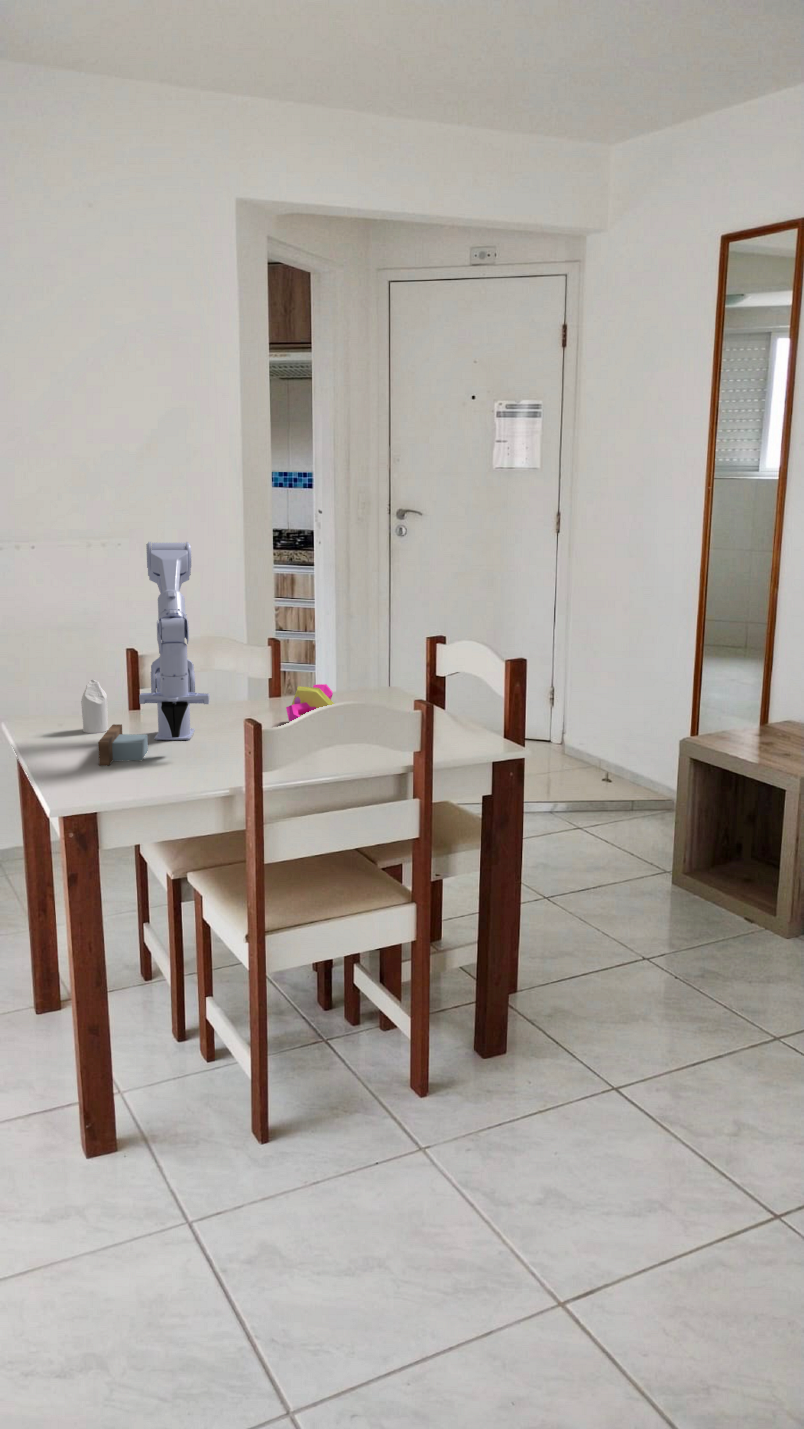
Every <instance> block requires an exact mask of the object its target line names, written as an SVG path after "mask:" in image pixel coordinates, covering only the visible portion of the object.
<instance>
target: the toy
mask: <svg viewBox="0 0 804 1429" xmlns="http://www.w3.org/2000/svg"><path fill="white" fill-rule="evenodd" d="M332 697H333V690H332V689H331V688H330V686H329V685H328V684H327V683H322V684H320V683H319V684H318V683H317V684H313V686H312V687H311V686H299V685H298V686H297V688H296V691H295V694H294V697H293V700H292V703H291V705H288V706H286V707H285V709H286V713H287V718H288V721H289V722H290V721H292V720H294V719H296V718H298V717H300V716H301V715H303V714H305V713H306V712H309V711H311V710H314V709H316V708H319V707H323V706H327V705H332V704H335V703H334V701H333V700H332Z"/></svg>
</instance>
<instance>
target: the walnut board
mask: <svg viewBox="0 0 804 1429" xmlns="http://www.w3.org/2000/svg"><path fill="white" fill-rule="evenodd" d="M119 734H123V724H115V723H113V724H112V725H111V726H110V727H108V730H107V731H105V732H104V734H103V736H102V737H101V738H100V739H99V740H98V741H97V743H98V745H97V746H98V748H97V749H98V765H99V766H104V767H105V766H106V765H107V766H108V765H109V766H110V765H111V763H112V762H113V752H112V743H113V742H114V740H115V739H116V738H117V737H118V735H119ZM109 766H108V767H109Z"/></svg>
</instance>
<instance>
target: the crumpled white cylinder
mask: <svg viewBox="0 0 804 1429" xmlns="http://www.w3.org/2000/svg"><path fill="white" fill-rule="evenodd" d="M80 704H81V714H82V715H81V716H82V731H83V733H85V734H99V733H106V732H107V731H108V730H109V715H108V695H107V693H106V691H105V690H104V689H103V688H102V686H101V684H100V682H99V681H98V680H95V679H91V680H90V681H89V682H88V683H87V685H86V686H85V689H84V692H83V694H82V696H81V701H80Z"/></svg>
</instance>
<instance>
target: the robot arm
mask: <svg viewBox="0 0 804 1429" xmlns="http://www.w3.org/2000/svg"><path fill="white" fill-rule="evenodd" d="M191 546H192V545H191V543H189V541H185V542H152V541H148V542H147V544H146V546H145V547H146V568H147V576H148V578H149V581H150V582H152V583H154V584H157V587H158V591H159V592H160V594H159V595H158V597H157V611H158V613H157V614H158V615H157V617H158V618H157V619H158V620H156V640H157V644H158V654H160V655H159V657H157V659H155V660H153V661H152V663H151V665H150V688H151V690H150V692H143V693H142V692H141V693H140V694H139V695H138V696H139V697H138V698H139V705H144V704H157V728H158V729H157V733H156V735H155V736H154V740H157V741H162V740H163V741H165V740H167V741H168V740H170V741H174V740H175V741H176V740H177V741H178V740H180V741H181V740H182V741H185V740H191V739H192V736H193V734H194V732H195V728H191V708H190V706H191V705H190V704H203V705H210V702H211V701H210V695H211V694H210V693H204V692H203V693H199V692H196V676H195V675H196V674H195V667H194V663H193V661H192V660H191V659H189V658H188V645H189V641H190V632H189V631H190V626H189V625H190V624H189V620H188V616H187V615H188V614H187V612H186V599H185V596H184V594H183V593H182V592H181V588H182V584H184V583H186V582H188V581H189V580H190V576H191V570H192V547H191ZM185 640H186V642H185Z"/></svg>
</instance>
